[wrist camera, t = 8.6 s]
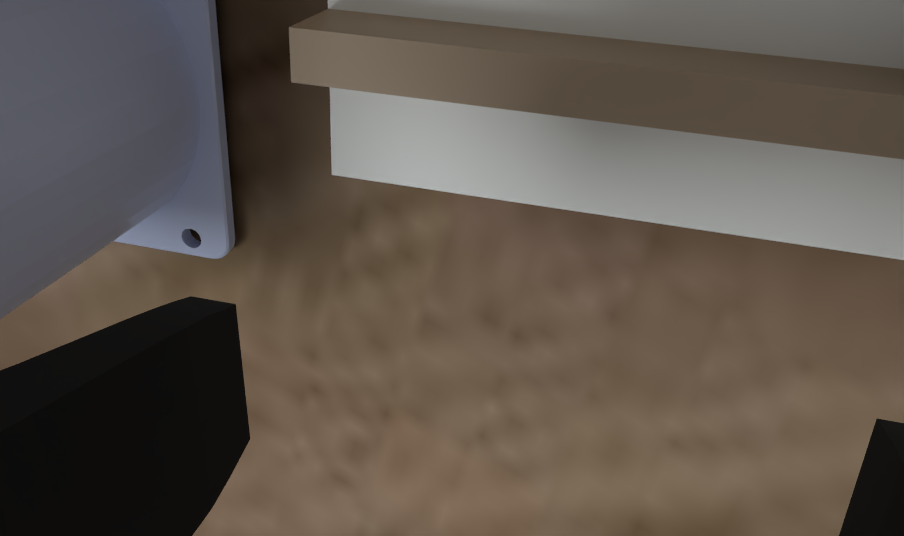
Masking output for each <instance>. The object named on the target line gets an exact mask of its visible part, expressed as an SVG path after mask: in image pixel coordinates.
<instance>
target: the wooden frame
mask: <svg viewBox="0 0 904 536" xmlns="http://www.w3.org/2000/svg"><path fill="white" fill-rule="evenodd" d="M289 45H290V68H291V82H292V83H300V84H308V85H316V86H324V87H330V122H331V165H332V175H336V176H343V177H350V178H356V179H363V180H370V181H377V182H383V183H390V184H397V185H403V186H410V187H417V188H424V189H430V190H437V191H444V192H450V193H457V194H464V195H470V196H477V197H484V198H491V199H497V200H504V201H511V202H517V203H524V204H531V205H538V206H544V207H551V208H558V209H564V210H571V211H578V212H585V213H591V214H598V215H605V216H611V217H618V218H625V219H632V220H638V221H645V222H652V223H658V224H665V225H672V226H678V227H685V228H692V229H699V230H705V231H712V232H719V233H725V234H732V235H739V236H746V237H752V238H759V239H766V240H772V241H779V242H786V243H793V244H799V245H806V246H813V247H819V248H826V249H833V250H840V251H846V252H853V253H860V254H866V255H873V256H880V257H886V258H893V259H900V260H904V0H328V9H326V10H324V11H322V12H320V13H318V14H316V15H313V16H311V17H309V18H307V19H305V20H303V21H301V22H299V23H297V24H295V25H292V26H290V27H289Z"/></svg>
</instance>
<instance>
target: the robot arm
mask: <svg viewBox="0 0 904 536" xmlns="http://www.w3.org/2000/svg"><path fill="white" fill-rule="evenodd" d="M190 229H192V230H195V231H196V232H197V233H198V234H199V235H200V238H201V241H198V240H196V239H195V238H194V237H193V236H192V234H191V232H190ZM113 241H115V242H120V243H126V244H131V245H137V246H143V247H148V248H154V249H160V250H165V251H171V252H177V253H182V254H188V255H194V256H199V257H205V258H211V259H220V258H222V257H224V256H225V255H227V254H228V253H229V252H230V251H231V250H232V248H233V247H234V244H235V231H234V219H233V207H232V195H231V183H230V171H229V159H228V147H227V136H226V124H225V112H224V100H223V88H222V76H221V64H220V52H219V40H218V28H217V16H216V5H215V0H0V319H1V318H3V317H4V316H6V315H7V314H8V313H10V312H11V311H13V310H14V309H16V308H17V307H19V306H20V305H21V304H23V303H24V302H26V301H27V300H29V299H30V298H32V297H33V296H34V295H36V294H37V293H39V292H40V291H42V290H43V289H45V288H46V287H47V286H49V285H50V284H52V283H53V282H55V281H56V280H58V279H59V278H60V277H62V276H63V275H65V274H66V273H68V272H69V271H71V270H72V269H73V268H75V267H76V266H78V265H79V264H81V263H82V262H84V261H85V260H86V259H88V258H89V257H91V256H92V255H94V254H95V253H97V252H98V251H100V250H101V249H102V248H104V247H105V246H107V245H108V244H110V243H111V242H113ZM249 440H250V433H249V424H248V415H247V405H246V396H245V387H244V378H243V368H242V359H241V350H240V341H239V331H238V322H237V313H236V304H231V303H225V302H219V301H214V300H208V299H203V298H197V297H188V298H184V299H181V300H178V301H174V302H171V303H168V304H166V305H163V306H160V307H157V308H155V309H152V310H149V311H147V312H144V313H141V314H139V315H136V316H134V317H131V318H129V319H126V320H124V321H121V322H119V323H116V324H114V325H112V326H109V327H107V328H104V329H102V330H99V331H97V332H95V333H92V334H90V335H87V336H85V337H82V338H80V339H78V340H75V341H73V342H70V343H68V344H65V345H63V346H60V347H58V348H56V349H53V350H51V351H48V352H46V353H43V354H41V355H39V356H36V357H34V358H31V359H29V360H26V361H24V362H21V363H19V364H16V365H14V366H11V367H8V368H6V369H3V370H1V371H0V536H192V535H193V534H194V532H195V531H196V530H197V528H198V527H199V526H200V524H201V523H202V521H203V520H204V519H205V517H206V516H207V514H208V513H209V512H210V510H211V509H212V507H213V505H214V504H215V502H216V500H217V499H218V497H219V495H220V493H221V492H222V490H223V488H224V486H225V485H226V483H227V481H228V479H229V478H230V476H231V474H232V472H233V470H234V468H235V466H236V465H237V463H238V461H239V459H240V457H241V455H242V453H243V451H244V449H245V448H246V446H247V444H248V442H249ZM839 536H904V423H899V422H893V421H887V420H882V419H877V420H876V423H875V426H874V429H873V432H872V435H871V438H870V442H869V445H868V448H867V451H866V454H865V457H864V460H863V463H862V466H861V469H860V473H859V476H858V479H857V482H856V485H855V488H854V491H853V494H852V497H851V500H850V504H849V507H848V510H847V513H846V516H845V519H844V522H843V525H842V528H841V531H840V535H839Z"/></svg>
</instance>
